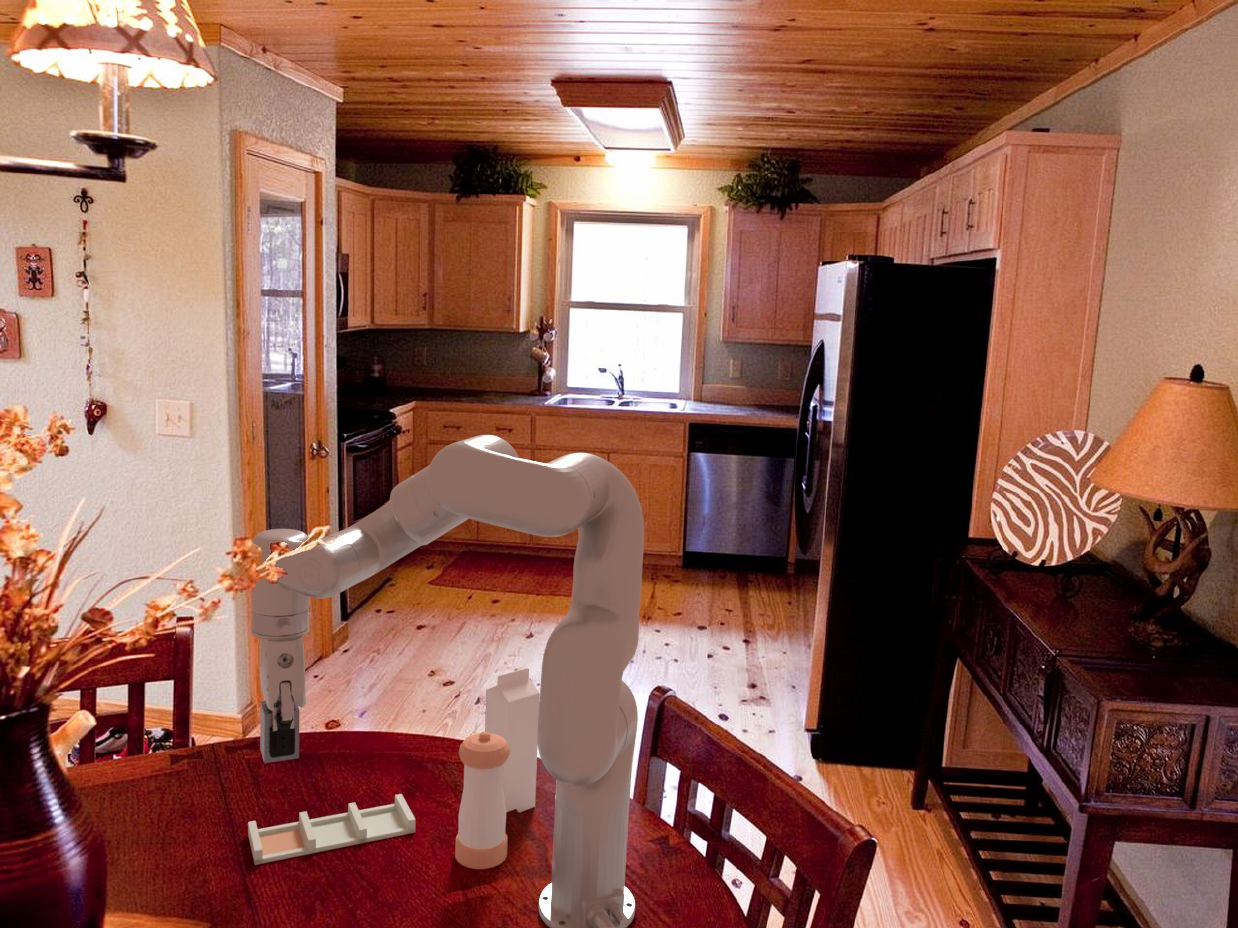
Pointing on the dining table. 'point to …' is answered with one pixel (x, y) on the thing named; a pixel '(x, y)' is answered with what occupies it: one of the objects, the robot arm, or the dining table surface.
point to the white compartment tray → (330, 831)
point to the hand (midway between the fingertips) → (279, 745)
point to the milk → (516, 734)
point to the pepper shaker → (482, 802)
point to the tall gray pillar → (265, 733)
